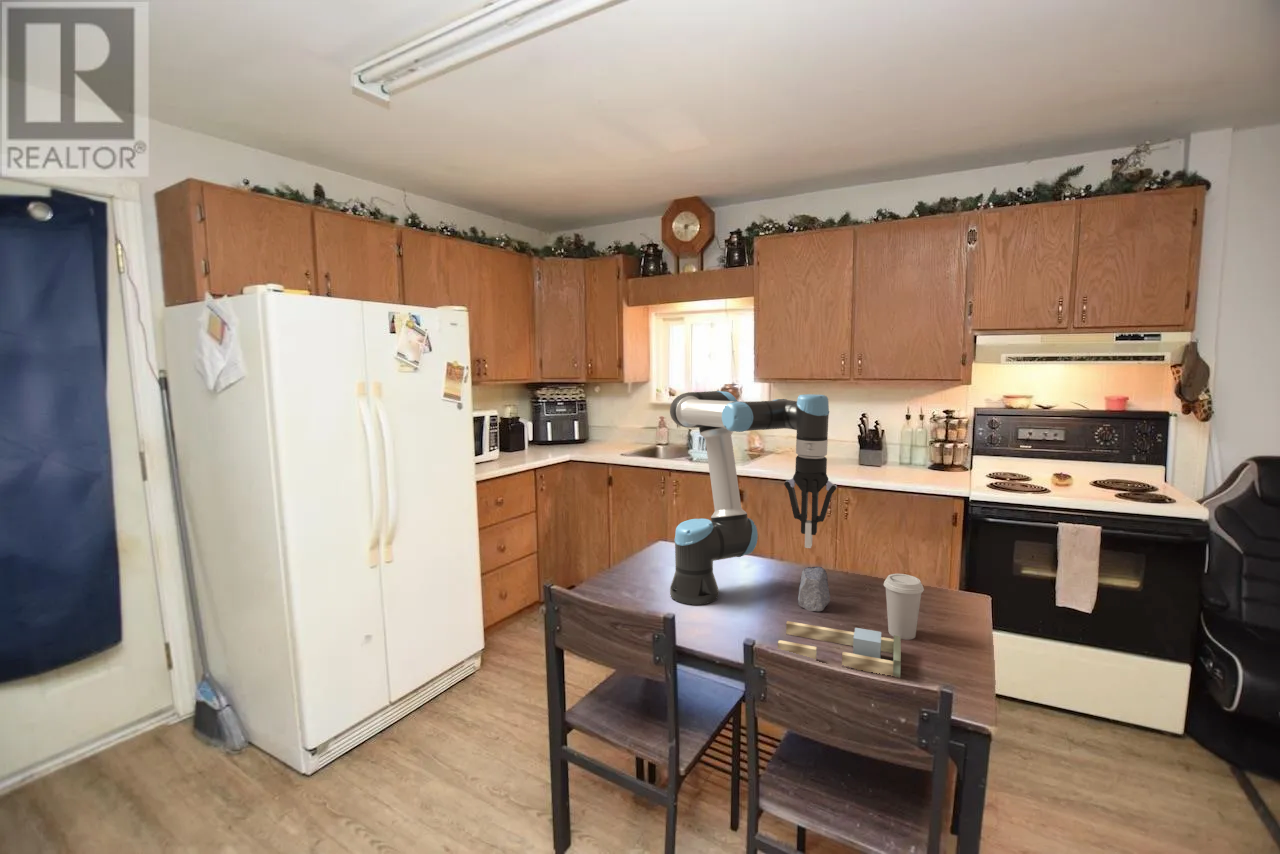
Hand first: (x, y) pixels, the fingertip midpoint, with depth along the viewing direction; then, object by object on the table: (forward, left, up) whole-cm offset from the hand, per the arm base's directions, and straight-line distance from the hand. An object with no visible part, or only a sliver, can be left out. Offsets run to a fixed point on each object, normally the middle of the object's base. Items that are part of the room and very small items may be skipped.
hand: (808, 546), depth 143 cm
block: (+15, -4, -25) cm, 29 cm away
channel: (+8, -4, -25) cm, 26 cm away
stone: (-1, +22, -25) cm, 33 cm away
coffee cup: (+22, +13, -25) cm, 36 cm away
